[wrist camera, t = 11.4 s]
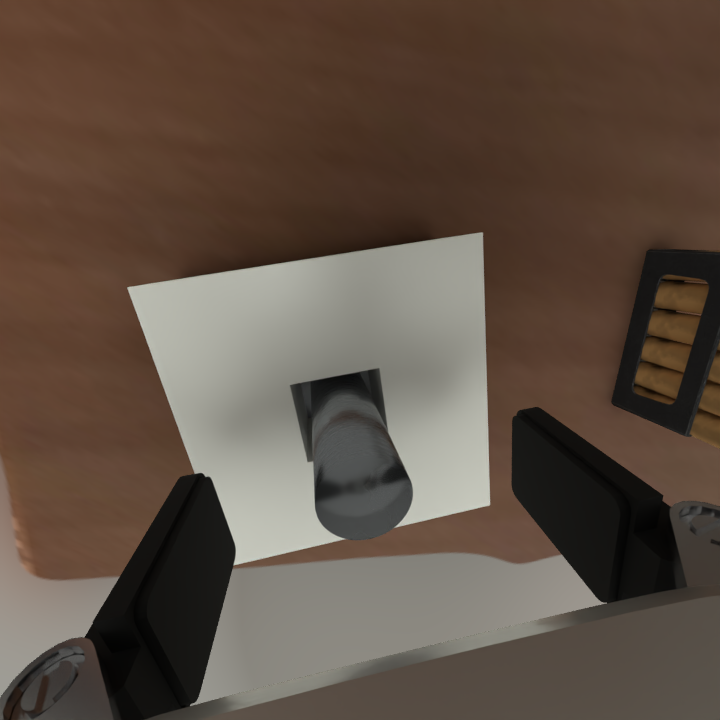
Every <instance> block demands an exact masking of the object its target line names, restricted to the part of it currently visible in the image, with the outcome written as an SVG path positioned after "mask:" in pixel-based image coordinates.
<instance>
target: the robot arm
mask: <svg viewBox="0 0 720 720" xmlns="http://www.w3.org/2000/svg"><path fill="white" fill-rule="evenodd" d="M512 490H513V492H514V495H515V496H516V498H517V499H518V500H519V502H520V503H521V504H522V505H523V507H524V508H525V509H526V510H527V512H528V513H529V514H530V515H531V517H532V518H533V519H534V520H535V522H536V523H537V524H538V525H539V527H540V528H541V529H542V530H543V532H544V533H545V534H546V535H547V536H548V538H549V539H550V540H551V541H552V543H553V544H554V545H555V546H556V548H557V549H558V550H559V551H560V553H561V554H562V555H563V556H564V558H565V559H566V560H567V561H568V563H569V564H570V565H571V566H572V567H573V569H574V570H575V571H576V572H577V574H578V575H579V576H580V578H581V579H582V580H583V581H584V582H585V584H586V585H587V586H588V587H589V589H590V590H591V591H592V592H593V594H594V595H595V596H596V597H597V598H598V599H599V600H600V601H601V602H607V604H602V605H598V606H593V607H589V608H585V609H581V610H576V611H572V612H568V613H564V614H560V615H555V616H552V617H547V618H543V619H539V620H534V621H530V622H526V623H522V624H518V625H514V626H509V627H505V628H501V629H497V630H493V631H488V632H484V633H480V634H476V635H472V636H468V637H463V638H459V639H455V640H451V641H447V642H443V643H439V644H435V645H430V646H427V647H422V648H419V649H414V650H410V651H406V652H402V653H398V654H394V655H390V656H386V657H382V658H378V659H373V660H369V661H366V662H361V663H357V664H353V665H349V666H345V667H341V668H337V669H333V670H329V671H325V672H321V673H317V674H314V675H309V676H305V677H302V678H297V679H293V680H289V681H286V682H281V683H277V684H273V685H269V686H265V687H261V688H257V689H253V690H249V691H245V692H241V693H238V694H234V695H230V696H227V697H223V698H219V699H216V700H212V701H208V702H204V703H201V704H198V705H193V706H190V704H192V703H195V702H196V701H197V699H198V697H199V693H200V690H201V687H202V683H203V679H204V675H205V671H206V667H207V664H208V660H209V656H210V652H211V649H212V645H213V641H214V637H215V633H216V629H217V626H218V622H219V618H220V614H221V610H222V607H223V603H224V599H225V595H226V591H227V588H228V584H229V580H230V576H231V572H232V569H233V565H234V561H235V556H236V547H235V543H234V540H233V537H232V534H231V532H230V529H229V526H228V523H227V520H226V518H225V515H224V512H223V509H222V506H221V504H220V501H219V498H218V495H217V492H216V490H215V487H214V484H213V481H212V479H211V478H210V477H209V476H208V477H205V475H204V474H203V473H197V474H192V475H187V476H182V477H180V478H179V479H178V481H177V482H176V484H175V486H174V487H173V489H172V491H171V492H170V494H169V496H168V497H167V499H166V501H165V502H164V504H163V506H162V507H161V509H160V511H159V512H158V514H157V516H156V517H155V519H154V521H153V522H152V524H151V526H150V527H149V529H148V531H147V532H146V534H145V536H144V537H143V539H142V541H141V542H140V544H139V546H138V547H137V549H136V551H135V552H134V554H133V556H132V557H131V559H130V561H129V562H128V564H127V566H126V567H125V569H124V571H123V572H122V574H121V576H120V577H119V579H118V581H117V583H116V584H115V586H114V588H113V589H112V591H111V592H110V594H109V596H108V598H107V599H106V601H105V602H104V604H103V606H102V607H101V609H100V611H99V612H98V614H97V616H96V617H95V619H94V621H93V624H92V626H91V627H90V629H89V631H88V633H87V634H86V636H85V638H83V637H79V638H72V639H69V640H66V641H64V642H62V643H59V644H57V645H55V646H54V647H52V648H51V649H49V650H47V651H46V652H44V653H42V654H41V655H40V656H39V657H37V658H36V659H35V660H34V661H33V662H31V663H30V664H29V665H28V666H27V667H26V668H25V669H24V670H23V671H22V672H21V673H20V674H19V675H18V676H17V677H16V678H15V679H14V680H13V681H12V682H11V684H10V685H9V686H8V688H7V689H6V690H5V692H4V693H3V694H2V695H1V697H0V720H720V506H717V505H713V504H710V503H705V502H698V501H682V502H679V503H675V504H674V505H673V506H672V507H670V506H669V505H667V504H666V503H665V502H663V501H662V499H663V495H662V494H661V493H659V492H658V491H656V490H655V489H654V488H652V487H651V486H649V485H648V484H646V483H645V482H644V481H642V480H641V479H639V478H638V477H637V476H635V475H634V474H632V473H631V472H630V471H628V470H627V469H625V468H624V467H623V466H621V465H620V464H618V463H617V462H615V461H614V460H613V459H611V458H610V457H608V456H607V455H606V454H604V453H603V452H601V451H600V450H599V449H597V448H596V447H594V446H593V445H592V444H590V443H589V442H587V441H586V440H584V439H583V438H582V437H580V436H579V435H577V434H576V433H575V432H573V431H572V430H570V429H569V428H568V427H566V426H565V425H563V424H562V423H561V422H559V421H558V420H556V419H555V418H553V417H552V416H551V415H549V414H548V413H546V412H545V411H544V410H542V409H541V408H539V407H534V408H529V409H524V410H519V411H518V412H517V416H514V417H513V420H512Z"/></svg>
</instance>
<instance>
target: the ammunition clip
mask: <svg viewBox="0 0 720 720" xmlns="http://www.w3.org/2000/svg"><path fill="white" fill-rule="evenodd" d="M684 281H700V282H707V283H708V284H701V283H688V282H684ZM676 310H677V311H684V312H691V313H698V314H701V316H698V315H692V314H685V313H679V312H676ZM669 339H670V340H669ZM673 340H675V341H673ZM677 341H679V342H677ZM682 342H684V343H682ZM686 343H688V344H686ZM690 344H693V345H690ZM611 402H612V404H613V405H614V406H617V407H619V408H621V409H624V410H626V411H628V412H631V413H633V414H635V415H637V416H640V417H642V418H644V419H647V420H649V421H651V422H654V423H656V424H658V425H661V426H663V427H665V428H667V429H670V430H672V431H674V432H677V433H679V434H681V435H684V436H686V437H690V436H693V437H696V438H698V439H700V440H702V441H704V442H706V443H708V444H711V445H713V446H715V447H717V448H719V449H720V251H709V250H677V249H659V250H649V251H647V253H646V258H645V262H644V266H643V270H642V274H641V279H640V283H639V287H638V291H637V296H636V300H635V304H634V308H633V313H632V317H631V321H630V325H629V329H628V334H627V338H626V342H625V346H624V351H623V355H622V359H621V363H620V368H619V372H618V376H617V380H616V385H615V389H614V393H613V397H612V401H611Z"/></svg>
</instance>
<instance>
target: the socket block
mask: <svg viewBox="0 0 720 720" xmlns="http://www.w3.org/2000/svg"><path fill="white" fill-rule="evenodd" d="M127 288H128V291H129V294H130V296H131V299H132V302H133V305H134V307H135V310H136V313H137V316H138V318H139V321H140V324H141V327H142V329H143V332H144V335H145V338H146V340H147V343H148V346H149V349H150V351H151V354H152V357H153V360H154V362H155V365H156V368H157V371H158V373H159V376H160V379H161V382H162V384H163V387H164V390H165V393H166V395H167V398H168V401H169V404H170V406H171V409H172V412H173V415H174V417H175V420H176V423H177V426H178V428H179V431H180V434H181V437H182V439H183V442H184V445H185V448H186V451H187V453H188V456H189V459H190V462H191V464H192V467H193V470H194V473H195V474H197V473H203V474H204V475H205V477H208V476H209V477H210V478H211V479H212V481H213V484H214V487H215V490H216V492H217V495H218V498H219V501H220V504H221V506H222V509H223V512H224V515H225V518H226V520H227V523H228V526H229V529H230V532H231V534H232V537H233V540H234V543H235V547H236V556H235V561H234V565H237V564H241V563H245V562H250V561H254V560H258V559H262V558H267V557H271V556H275V555H279V554H284V553H288V552H292V551H297V550H301V549H305V548H309V547H314V546H318V545H322V544H326V543H331V542H335V541H339V540H343V539H344V538H341V537H338V536H336V535H334V534H332V533H331V532H329V531H328V530H327V529H326V528H325V527H323V525H322V524H321V523H320V521H319V519H318V517H317V514H316V511H315V497H314V470H313V443H312V416H311V389H310V381H313V380H318V379H324V378H329V377H334V376H340V375H345V374H350V373H356V372H360V373H361V375H362V378H363V380H364V382H365V384H366V386H367V388H368V390H369V392H370V395H371V397H372V399H373V401H374V403H375V405H376V407H377V410H378V412H379V414H380V416H381V418H382V420H383V422H384V425H385V427H386V429H387V431H388V433H389V435H390V437H391V439H392V442H393V444H394V446H395V448H396V450H397V452H398V454H399V457H400V459H401V461H402V463H403V465H404V467H405V469H406V472H407V474H408V476H409V478H410V480H411V483H412V487H413V499H412V503H411V506H410V509H409V511H408V512H407V514H406V516H405V517H404V518H403V520H402V521H401V522H400V523H399V524H398V525H397V526H395V527H399V526H403V525H407V524H412V523H416V522H420V521H424V520H429V519H433V518H437V517H442V516H446V515H450V514H454V513H459V512H463V511H467V510H471V509H476V508H480V507H484V506H488V505H490V485H489V447H488V410H487V372H486V335H485V297H484V259H483V232H481V233H474V234H467V235H460V236H453V237H446V238H439V239H432V240H426V241H419V242H413V243H406V244H400V245H393V246H387V247H381V248H374V249H368V250H361V251H355V252H348V253H342V254H335V255H329V256H322V257H316V258H309V259H303V260H297V261H290V262H284V263H277V264H271V265H264V266H258V267H251V268H245V269H238V270H232V271H225V272H219V273H213V274H206V275H200V276H193V277H187V278H180V279H174V280H168V281H162V282H156V283H150V284H145V285H139V286H133V287H127ZM395 527H394V528H395Z"/></svg>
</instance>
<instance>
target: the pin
mask: <svg viewBox="0 0 720 720" xmlns="http://www.w3.org/2000/svg"><path fill="white" fill-rule="evenodd" d="M310 389H311V416H312V443H313V470H314V497H315V511H316V514H317V517H318V519H319V521H320V523H321V524H322V525H323V527H325V528H326V529H327V530H328V531H329V532H331V533H332V534H334V535H336V536H338V537H341V538H344V539H349V540H366V539H371V538H374V537H378V536H380V535H383V534H385V533H386V532H388V531H390V530H391V529H393V528H394V527H395V526H397V525H398V524H399V523H400V522H401V521H402V520H403V518H404V517H405V516H406V514H407V512H408V511H409V509H410V506H411V503H412V499H413V487H412V483H411V480H410V478H409V476H408V474H407V472H406V469H405V467H404V465H403V463H402V461H401V459H400V457H399V454H398V452H397V450H396V448H395V446H394V444H393V442H392V439H391V437H390V435H389V433H388V431H387V429H386V427H385V425H384V422H383V420H382V418H381V416H380V414H379V412H378V410H377V407H376V405H375V403H374V401H373V399H372V397H371V395H370V392H369V390H368V388H367V386H366V384H365V382H364V380H363V378H362V375H361V373H360V372H356V373H350V374H345V375H340V376H334V377H329V378H324V379H318V380H313V381H310Z"/></svg>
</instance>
